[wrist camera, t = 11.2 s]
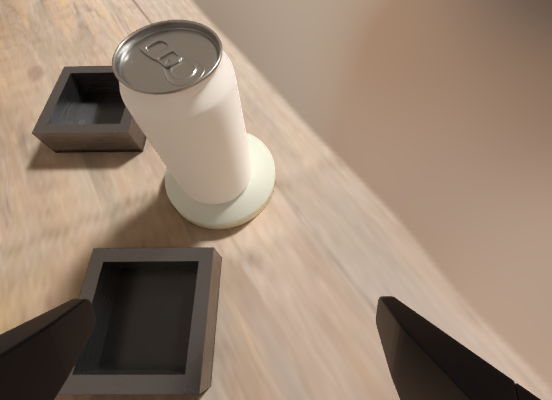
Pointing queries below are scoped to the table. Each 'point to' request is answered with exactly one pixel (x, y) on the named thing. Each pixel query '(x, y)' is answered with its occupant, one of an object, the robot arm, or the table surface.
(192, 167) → the can
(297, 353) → the table surface
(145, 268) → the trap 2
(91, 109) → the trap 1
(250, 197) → the pad
